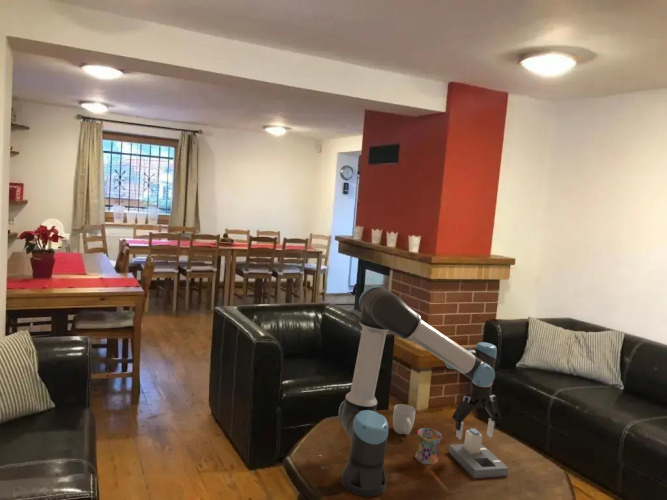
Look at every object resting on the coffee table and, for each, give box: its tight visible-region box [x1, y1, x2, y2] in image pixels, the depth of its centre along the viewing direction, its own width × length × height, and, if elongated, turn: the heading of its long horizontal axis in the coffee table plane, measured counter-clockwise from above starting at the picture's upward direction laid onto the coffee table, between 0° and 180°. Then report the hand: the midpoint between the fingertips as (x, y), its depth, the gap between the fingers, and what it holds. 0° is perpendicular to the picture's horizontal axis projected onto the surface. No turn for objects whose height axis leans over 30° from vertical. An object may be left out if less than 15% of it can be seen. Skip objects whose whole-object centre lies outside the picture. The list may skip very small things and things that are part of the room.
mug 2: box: [414, 427, 443, 466], centre depth 195 cm, size 12×9×11 cm
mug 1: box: [392, 403, 416, 435], centre depth 214 cm, size 13×9×10 cm
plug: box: [463, 427, 483, 454], centre depth 198 cm, size 4×4×11 cm
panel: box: [448, 443, 510, 479], centre depth 194 cm, size 14×18×4 cm
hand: (474, 436), depth 198 cm, fingers open, 13 cm apart
